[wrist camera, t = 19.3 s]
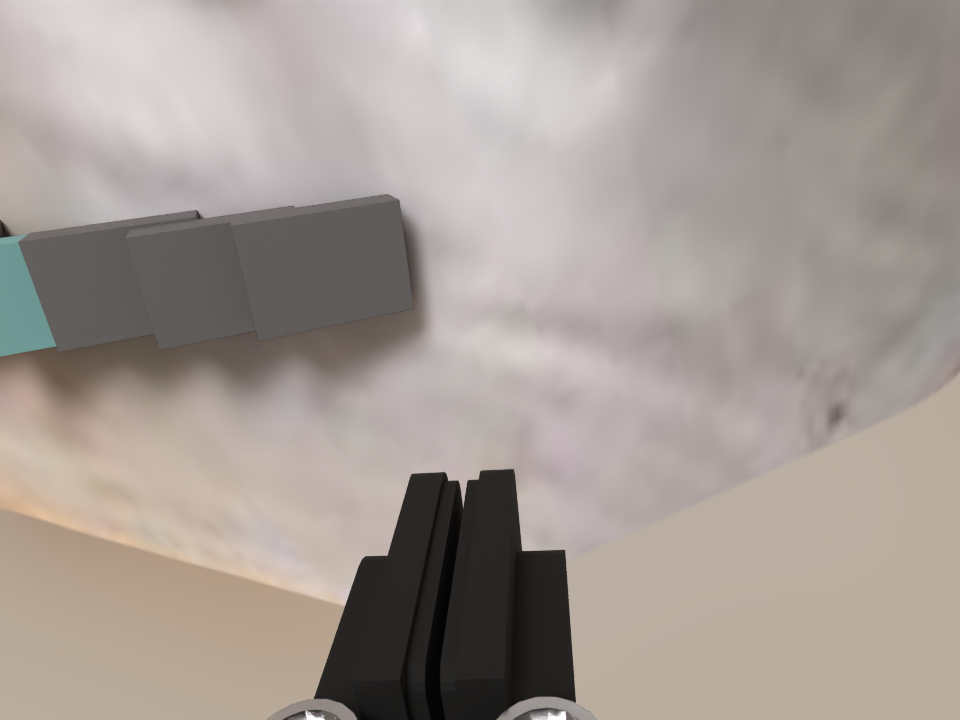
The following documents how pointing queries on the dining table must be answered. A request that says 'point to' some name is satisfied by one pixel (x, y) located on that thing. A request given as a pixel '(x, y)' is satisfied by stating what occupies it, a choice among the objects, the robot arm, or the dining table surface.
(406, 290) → the domino
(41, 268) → the domino
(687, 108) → the dining table surface
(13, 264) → the domino
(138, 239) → the domino
